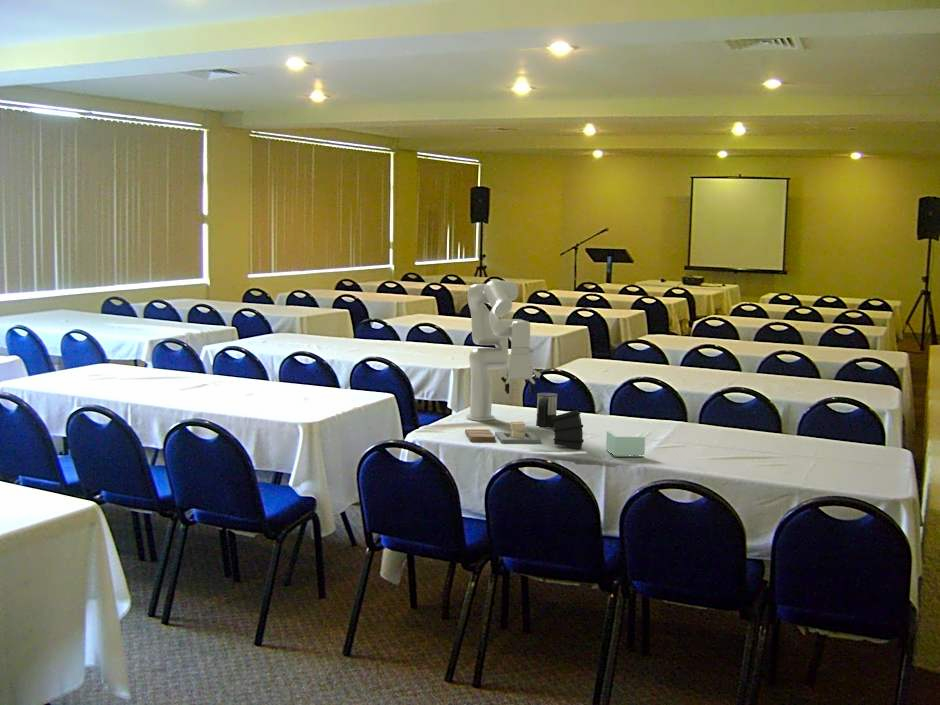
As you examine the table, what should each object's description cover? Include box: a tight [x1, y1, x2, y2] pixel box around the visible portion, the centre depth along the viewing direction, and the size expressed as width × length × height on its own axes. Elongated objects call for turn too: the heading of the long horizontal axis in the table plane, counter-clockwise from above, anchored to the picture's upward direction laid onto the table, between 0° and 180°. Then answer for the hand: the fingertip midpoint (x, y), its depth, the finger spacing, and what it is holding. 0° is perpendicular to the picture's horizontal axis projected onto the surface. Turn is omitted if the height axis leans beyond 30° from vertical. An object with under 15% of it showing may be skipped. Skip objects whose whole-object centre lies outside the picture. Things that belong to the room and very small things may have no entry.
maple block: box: [509, 420, 526, 438], centre depth 414 cm, size 5×5×7 cm
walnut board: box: [464, 428, 496, 443], centre depth 415 cm, size 16×10×2 cm, turn 8°
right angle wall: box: [605, 430, 646, 457], centre depth 394 cm, size 12×12×8 cm
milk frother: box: [535, 392, 559, 428], centre depth 439 cm, size 14×16×15 cm
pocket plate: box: [494, 431, 542, 444], centre depth 414 cm, size 16×16×2 cm
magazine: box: [551, 409, 585, 450], centre depth 399 cm, size 4×13×15 cm, turn 65°
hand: (519, 393), depth 412 cm, fingers open, 9 cm apart
